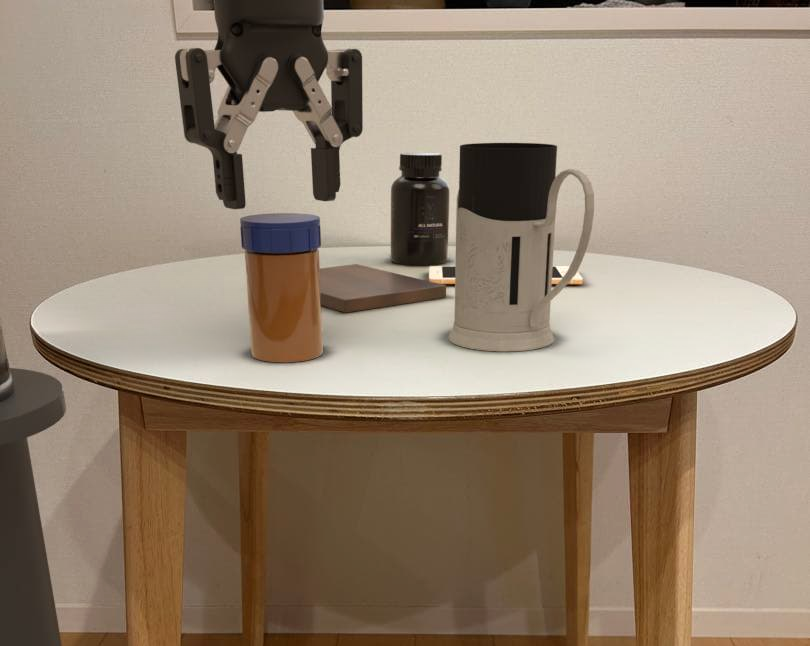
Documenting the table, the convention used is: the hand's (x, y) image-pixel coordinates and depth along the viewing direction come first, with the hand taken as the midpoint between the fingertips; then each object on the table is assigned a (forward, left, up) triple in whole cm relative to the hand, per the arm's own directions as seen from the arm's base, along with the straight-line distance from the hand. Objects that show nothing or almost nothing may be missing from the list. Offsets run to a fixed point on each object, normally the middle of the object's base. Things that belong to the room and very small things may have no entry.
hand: (281, 203), depth 75 cm
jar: (0, 0, -11) cm, 11 cm away
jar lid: (0, 0, -1) cm, 1 cm away
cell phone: (+35, +14, -11) cm, 39 cm away
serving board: (+18, +18, -11) cm, 28 cm away
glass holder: (+16, -9, -11) cm, 22 cm away
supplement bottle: (+35, +29, -11) cm, 47 cm away
